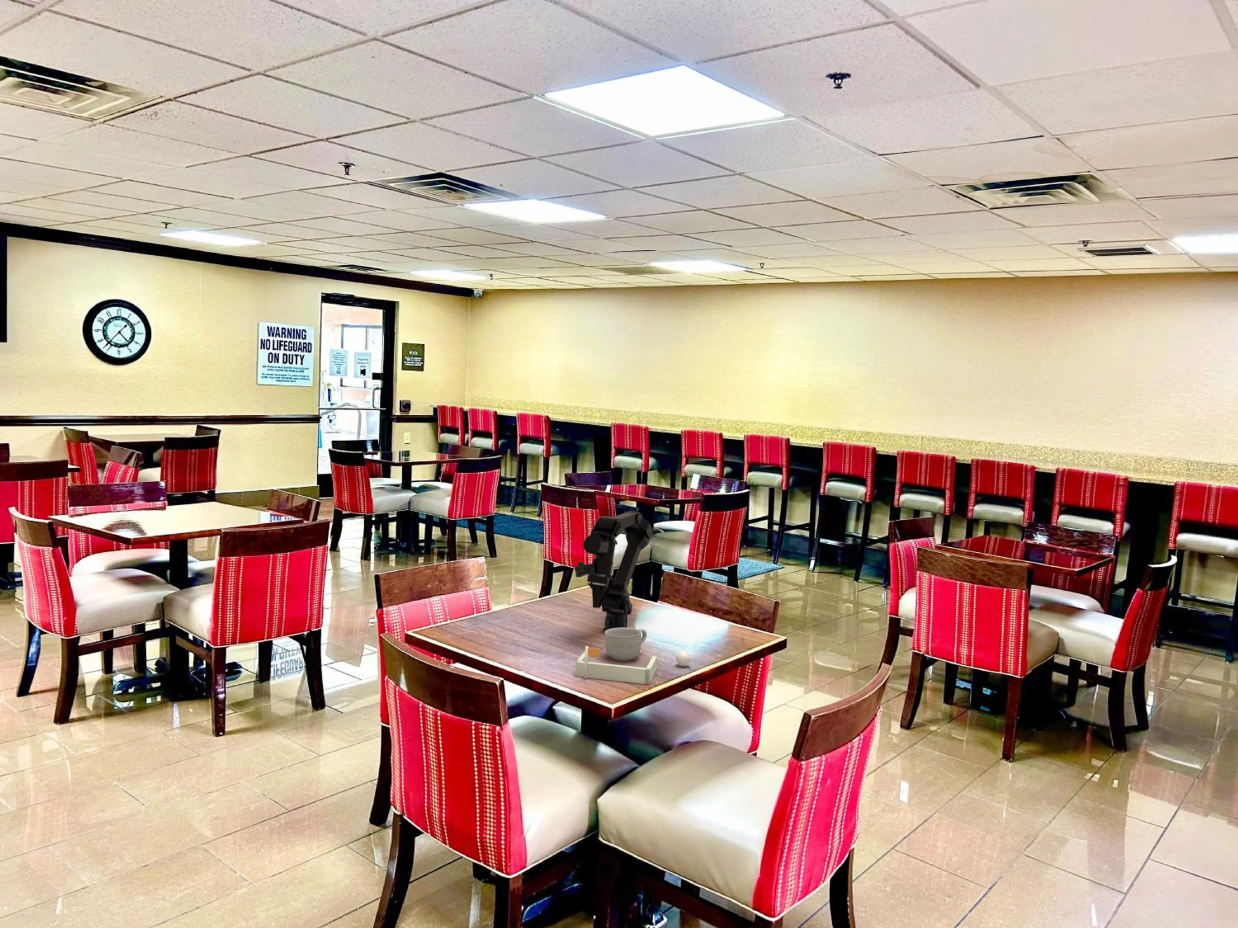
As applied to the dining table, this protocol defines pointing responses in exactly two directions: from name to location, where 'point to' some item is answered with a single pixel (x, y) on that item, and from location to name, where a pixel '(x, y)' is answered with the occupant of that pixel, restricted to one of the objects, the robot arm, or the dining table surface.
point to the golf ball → (683, 658)
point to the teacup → (624, 642)
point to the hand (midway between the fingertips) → (596, 607)
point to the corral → (613, 669)
